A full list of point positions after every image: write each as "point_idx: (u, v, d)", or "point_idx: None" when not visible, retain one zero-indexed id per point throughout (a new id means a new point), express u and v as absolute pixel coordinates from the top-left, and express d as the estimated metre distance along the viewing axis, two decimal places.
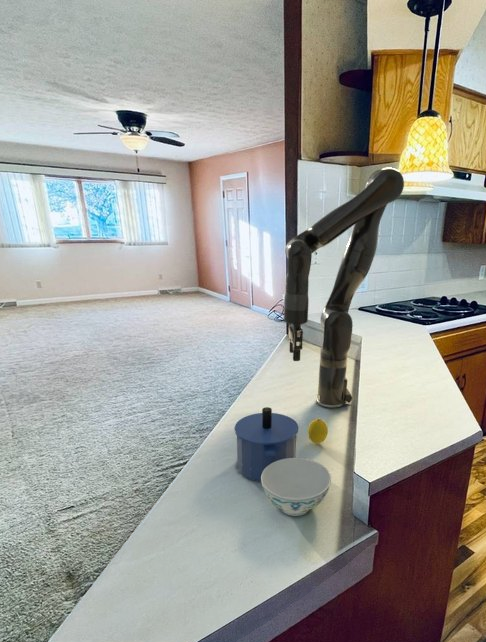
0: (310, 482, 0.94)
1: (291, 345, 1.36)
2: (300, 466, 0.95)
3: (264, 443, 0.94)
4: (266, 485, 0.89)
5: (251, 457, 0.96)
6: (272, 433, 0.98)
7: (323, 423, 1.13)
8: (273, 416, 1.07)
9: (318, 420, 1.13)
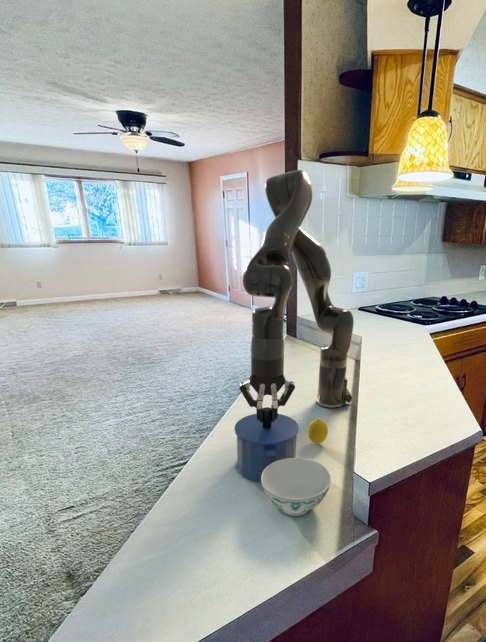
0: (310, 482, 0.94)
1: None
2: (300, 466, 0.95)
3: (264, 443, 0.94)
4: (266, 485, 0.89)
5: (251, 457, 0.96)
6: (272, 433, 0.98)
7: (323, 423, 1.13)
8: None
9: (318, 420, 1.13)
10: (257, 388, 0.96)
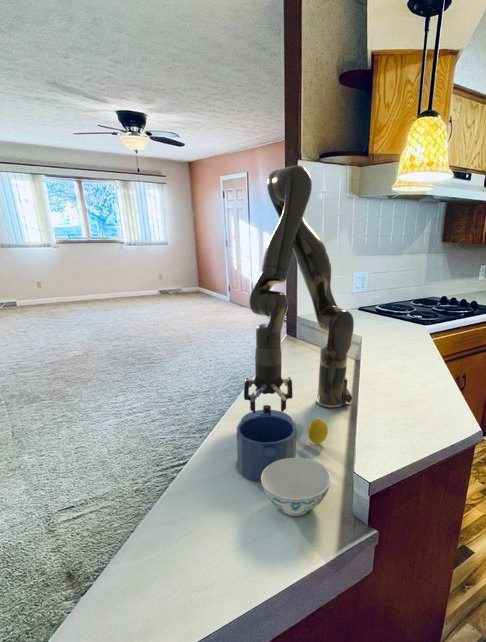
0: (310, 482, 0.94)
1: None
2: (300, 466, 0.95)
3: None
4: (266, 485, 0.89)
5: (251, 457, 0.96)
6: None
7: (323, 423, 1.13)
8: (272, 412, 1.31)
9: (318, 420, 1.13)
10: None
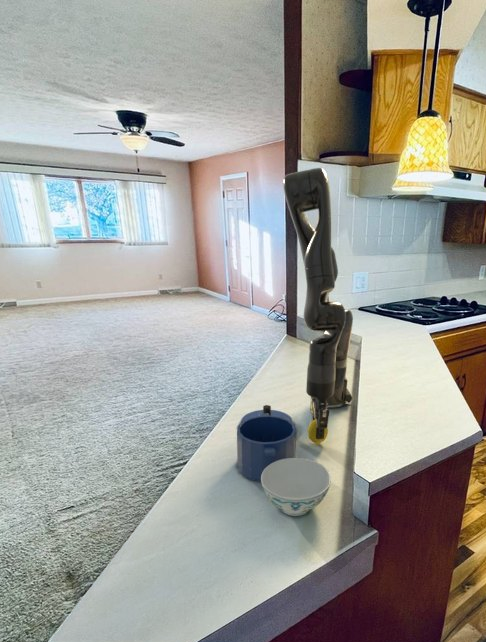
0: (310, 482, 0.94)
1: None
2: (300, 466, 0.95)
3: None
4: (266, 485, 0.89)
5: (251, 457, 0.96)
6: None
7: None
8: (272, 412, 1.31)
9: None
10: None
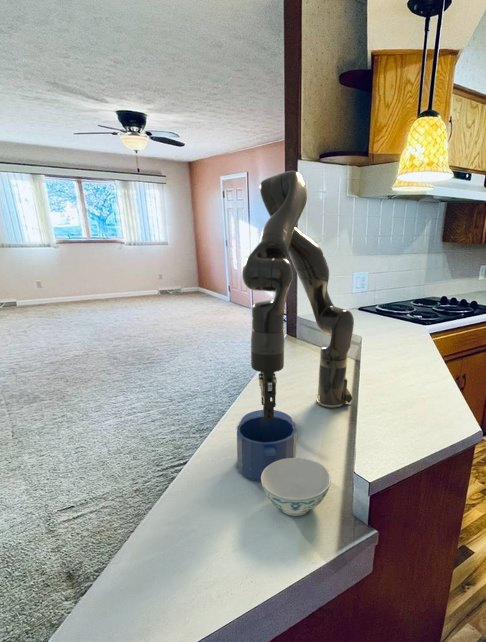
0: (310, 482, 0.94)
1: (263, 396, 1.02)
2: (300, 466, 0.95)
3: None
4: (266, 485, 0.89)
5: (251, 457, 0.96)
6: None
7: None
8: None
9: None
10: None
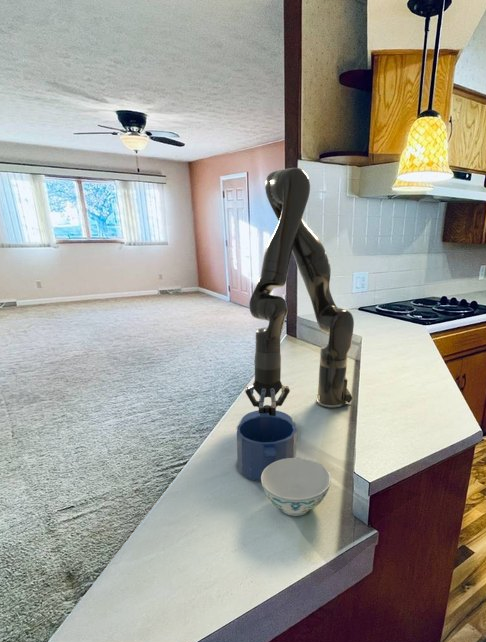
0: (310, 482, 0.94)
1: None
2: (300, 466, 0.95)
3: None
4: (266, 485, 0.89)
5: (251, 457, 0.96)
6: None
7: None
8: None
9: None
10: (259, 391, 1.20)
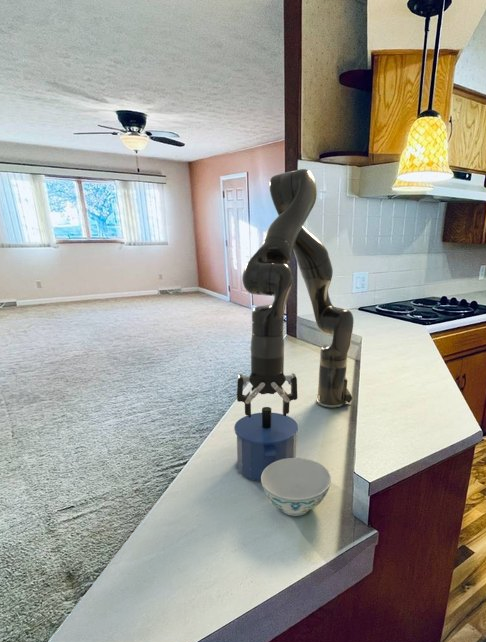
0: (310, 482, 0.94)
1: None
2: (300, 466, 0.95)
3: (263, 443, 0.94)
4: (266, 485, 0.89)
5: (251, 457, 0.96)
6: (272, 433, 0.98)
7: None
8: (273, 416, 1.07)
9: None
10: None
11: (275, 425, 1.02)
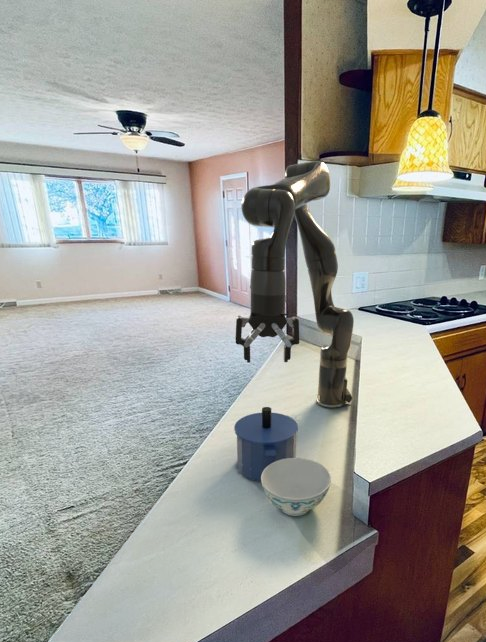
0: (310, 482, 0.94)
1: (284, 350, 0.95)
2: (300, 466, 0.95)
3: (263, 443, 0.94)
4: (266, 485, 0.89)
5: (251, 457, 0.96)
6: (272, 433, 0.98)
7: None
8: (273, 416, 1.07)
9: None
10: None
11: (275, 425, 1.02)
